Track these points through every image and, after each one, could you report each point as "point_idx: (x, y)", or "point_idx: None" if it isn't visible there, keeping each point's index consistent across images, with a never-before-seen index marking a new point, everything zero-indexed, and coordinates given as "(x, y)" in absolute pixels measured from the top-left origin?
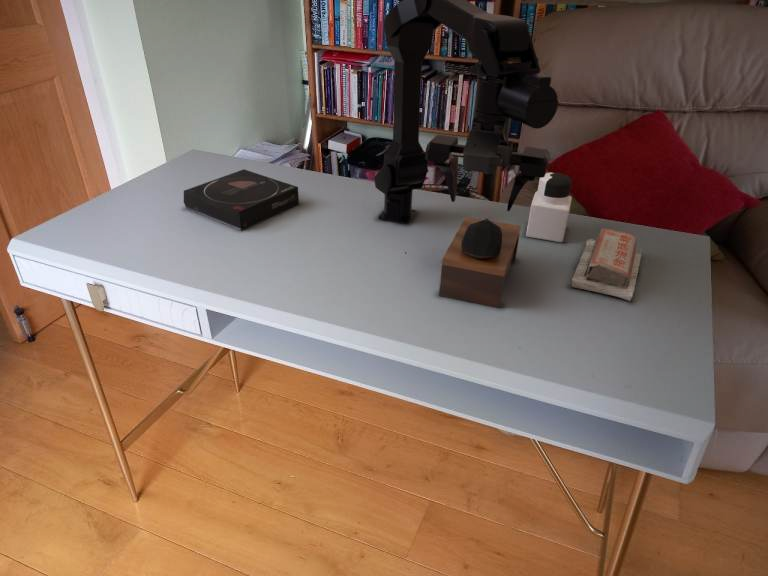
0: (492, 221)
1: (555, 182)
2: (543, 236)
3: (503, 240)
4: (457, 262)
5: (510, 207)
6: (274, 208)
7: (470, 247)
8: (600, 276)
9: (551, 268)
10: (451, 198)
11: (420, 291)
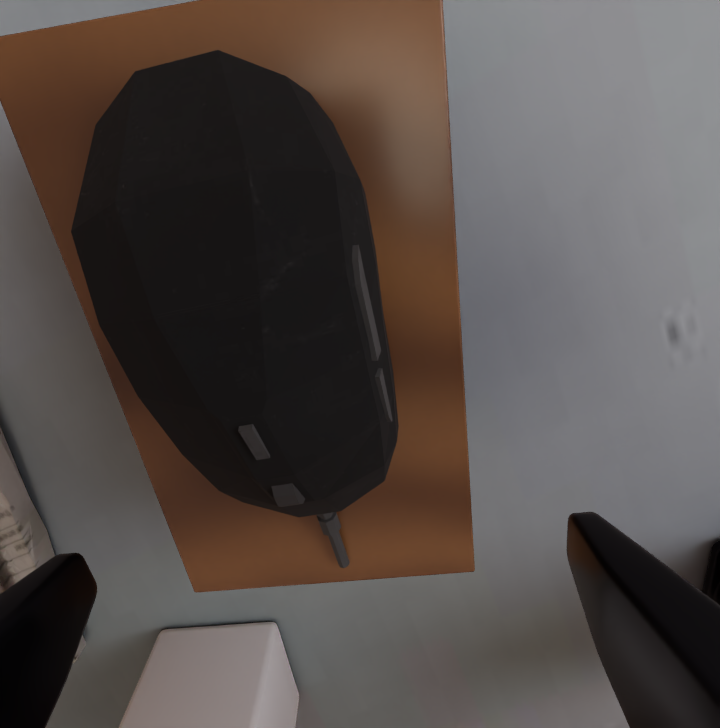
0: (331, 578)
1: None
2: (217, 634)
3: None
4: None
5: (26, 580)
6: None
7: (254, 99)
8: None
9: (112, 476)
10: (611, 529)
11: (515, 13)
